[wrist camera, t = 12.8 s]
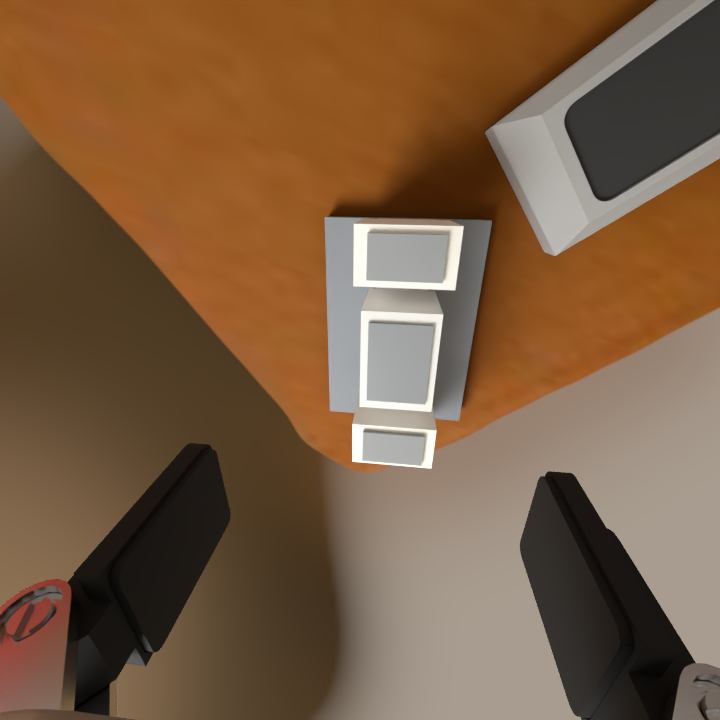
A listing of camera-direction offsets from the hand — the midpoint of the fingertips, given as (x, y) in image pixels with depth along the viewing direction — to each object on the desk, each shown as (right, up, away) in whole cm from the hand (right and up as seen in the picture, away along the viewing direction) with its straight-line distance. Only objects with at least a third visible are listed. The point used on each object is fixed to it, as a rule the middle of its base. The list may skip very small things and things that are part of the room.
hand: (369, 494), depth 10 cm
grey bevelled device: (+17, +20, +13) cm, 29 cm away
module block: (+3, +6, +18) cm, 19 cm away
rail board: (+3, +7, +20) cm, 21 cm away
